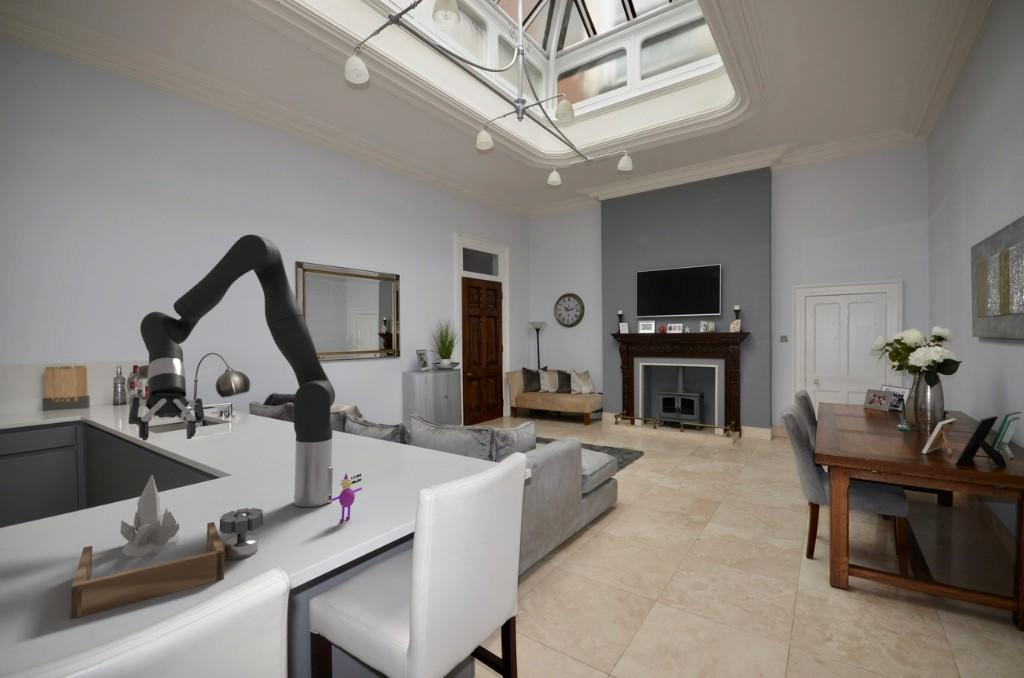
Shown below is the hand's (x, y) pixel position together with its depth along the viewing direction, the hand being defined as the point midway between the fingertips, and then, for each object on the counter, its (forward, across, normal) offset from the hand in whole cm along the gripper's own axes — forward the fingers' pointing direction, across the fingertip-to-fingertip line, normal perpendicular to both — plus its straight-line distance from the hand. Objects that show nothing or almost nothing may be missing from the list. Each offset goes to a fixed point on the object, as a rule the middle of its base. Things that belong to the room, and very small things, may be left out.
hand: (168, 438), depth 106 cm
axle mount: (+32, +10, -8) cm, 34 cm away
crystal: (+23, -2, +6) cm, 23 cm away
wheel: (+27, +9, -12) cm, 31 cm away
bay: (+32, -4, -6) cm, 33 cm away
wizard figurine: (+30, +33, -10) cm, 45 cm away
